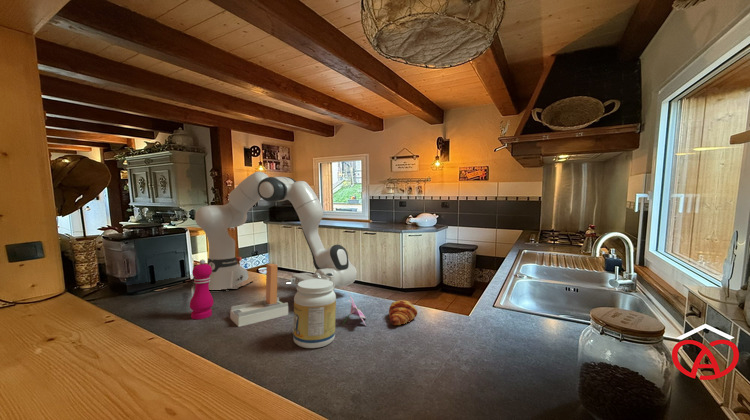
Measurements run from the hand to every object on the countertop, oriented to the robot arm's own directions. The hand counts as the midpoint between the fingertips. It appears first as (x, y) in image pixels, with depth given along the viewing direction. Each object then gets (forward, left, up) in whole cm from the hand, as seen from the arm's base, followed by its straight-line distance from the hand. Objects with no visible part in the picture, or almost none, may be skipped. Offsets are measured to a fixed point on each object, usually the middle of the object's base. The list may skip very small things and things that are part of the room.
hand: (291, 285), depth 110 cm
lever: (+6, -4, -6) cm, 10 cm away
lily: (+3, +28, -9) cm, 30 cm away
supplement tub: (+19, +21, -9) cm, 30 cm away
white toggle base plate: (+10, -6, -9) cm, 15 cm away
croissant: (-8, +42, -10) cm, 44 cm away
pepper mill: (+17, -25, -9) cm, 32 cm away
